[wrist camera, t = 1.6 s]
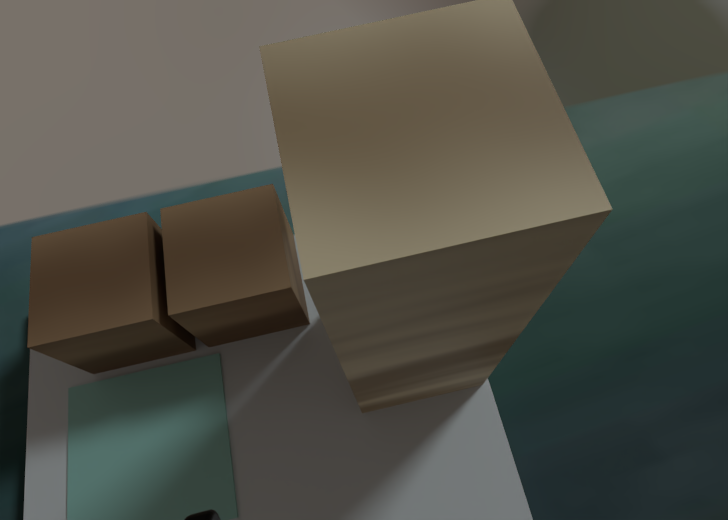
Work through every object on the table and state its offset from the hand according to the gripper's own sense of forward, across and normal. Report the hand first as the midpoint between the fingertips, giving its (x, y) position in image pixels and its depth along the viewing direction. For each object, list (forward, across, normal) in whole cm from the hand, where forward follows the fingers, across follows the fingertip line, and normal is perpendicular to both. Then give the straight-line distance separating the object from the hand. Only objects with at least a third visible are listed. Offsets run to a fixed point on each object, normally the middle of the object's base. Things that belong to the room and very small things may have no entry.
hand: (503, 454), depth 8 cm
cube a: (+14, +10, +2) cm, 17 cm away
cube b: (+14, +6, +2) cm, 15 cm away
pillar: (+11, 0, +4) cm, 12 cm away
